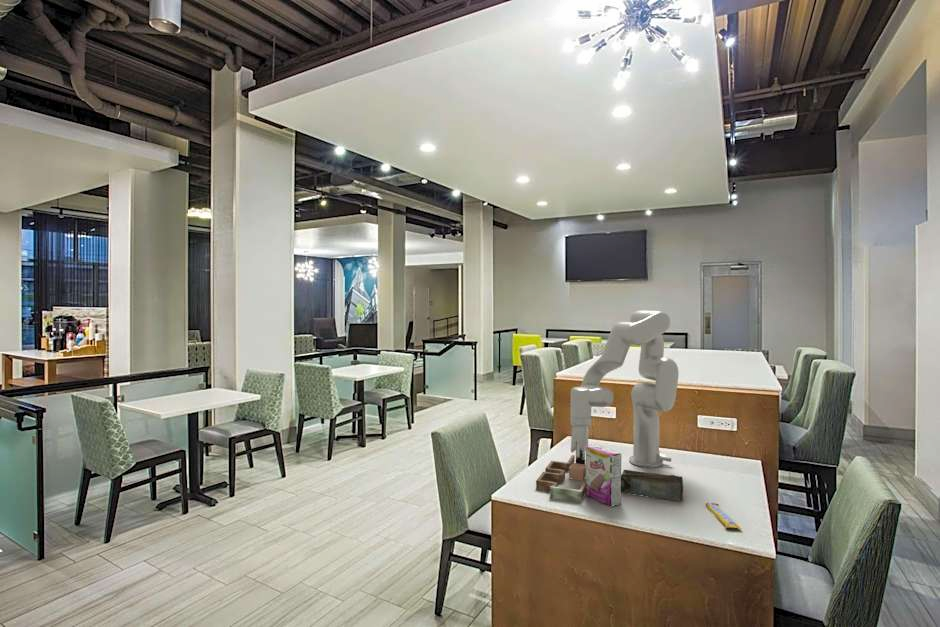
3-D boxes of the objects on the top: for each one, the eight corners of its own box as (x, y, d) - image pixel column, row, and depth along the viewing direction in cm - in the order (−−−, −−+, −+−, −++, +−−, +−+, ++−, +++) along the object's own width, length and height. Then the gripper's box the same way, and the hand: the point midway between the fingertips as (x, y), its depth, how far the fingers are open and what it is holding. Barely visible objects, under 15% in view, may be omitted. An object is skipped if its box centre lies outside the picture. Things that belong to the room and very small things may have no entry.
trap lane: (598, 465, 192) (598, 456, 192) (581, 502, 157) (581, 491, 157) (557, 460, 198) (557, 451, 198) (531, 495, 163) (532, 484, 163)
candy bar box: (584, 495, 162) (584, 446, 162) (595, 492, 165) (595, 443, 165) (610, 507, 153) (611, 455, 153) (621, 504, 156) (622, 452, 155)
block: (586, 475, 181) (587, 464, 181) (582, 480, 176) (582, 469, 176) (573, 473, 183) (573, 462, 183) (569, 478, 178) (569, 467, 178)
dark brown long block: (623, 485, 172) (623, 466, 172) (683, 494, 164) (683, 474, 164) (619, 493, 165) (620, 473, 165) (682, 503, 157) (683, 483, 157)
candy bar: (704, 507, 155) (704, 501, 154) (718, 508, 154) (718, 502, 154) (726, 532, 138) (726, 526, 138) (742, 533, 137) (742, 526, 137)
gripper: (574, 415, 192) (574, 462, 193) (566, 424, 179) (566, 474, 179) (594, 417, 189) (593, 464, 190) (587, 426, 176) (587, 477, 176)
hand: (580, 469), depth 185 cm, fingers closed
